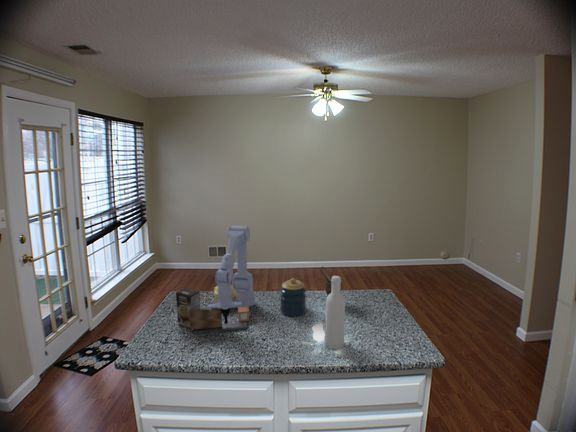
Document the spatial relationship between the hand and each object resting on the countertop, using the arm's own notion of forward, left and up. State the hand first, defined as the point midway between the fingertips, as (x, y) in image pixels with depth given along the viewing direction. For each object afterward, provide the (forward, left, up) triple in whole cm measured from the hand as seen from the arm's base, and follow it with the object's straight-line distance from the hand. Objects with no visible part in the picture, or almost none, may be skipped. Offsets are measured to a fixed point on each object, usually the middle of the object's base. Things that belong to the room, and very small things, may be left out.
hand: (226, 322), depth 154 cm
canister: (-33, +13, -3) cm, 36 cm away
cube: (-11, -1, -3) cm, 12 cm away
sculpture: (-17, -21, -3) cm, 27 cm away
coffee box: (+8, -17, -3) cm, 19 cm away
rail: (+2, -2, -3) cm, 4 cm away
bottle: (-21, +45, -3) cm, 50 cm away
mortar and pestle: (-52, +23, -3) cm, 57 cm away
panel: (+7, -6, -1) cm, 9 cm away
